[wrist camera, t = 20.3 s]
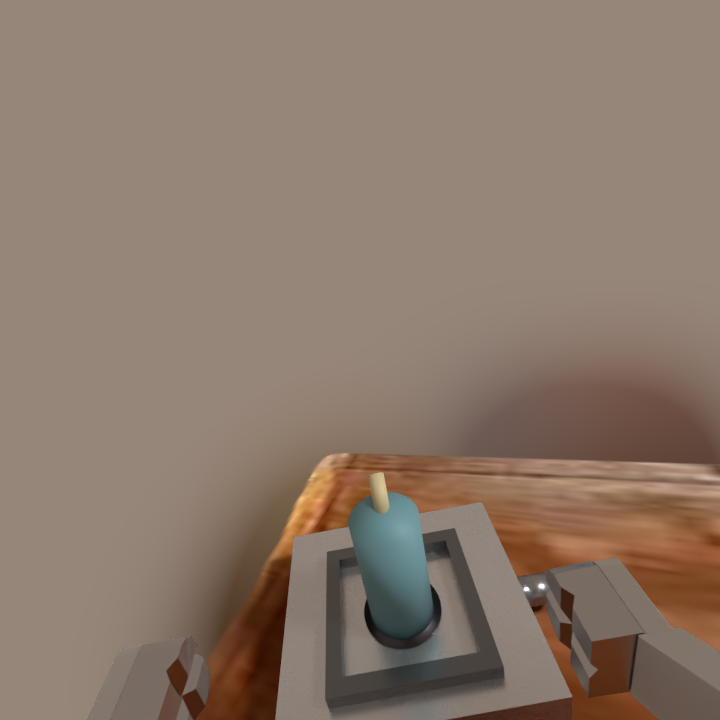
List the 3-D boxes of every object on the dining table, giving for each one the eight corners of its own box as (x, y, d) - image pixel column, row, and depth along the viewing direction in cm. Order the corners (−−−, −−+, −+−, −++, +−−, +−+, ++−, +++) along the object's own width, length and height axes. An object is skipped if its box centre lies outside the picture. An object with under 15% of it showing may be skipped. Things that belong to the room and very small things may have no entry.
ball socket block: (511, 525, 45) (509, 487, 43) (614, 722, 29) (619, 677, 27) (302, 563, 46) (291, 528, 44) (287, 781, 29) (267, 741, 27)
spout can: (424, 568, 38) (407, 460, 33) (440, 633, 32) (421, 516, 27) (368, 578, 38) (341, 472, 33) (373, 645, 32) (343, 530, 28)
